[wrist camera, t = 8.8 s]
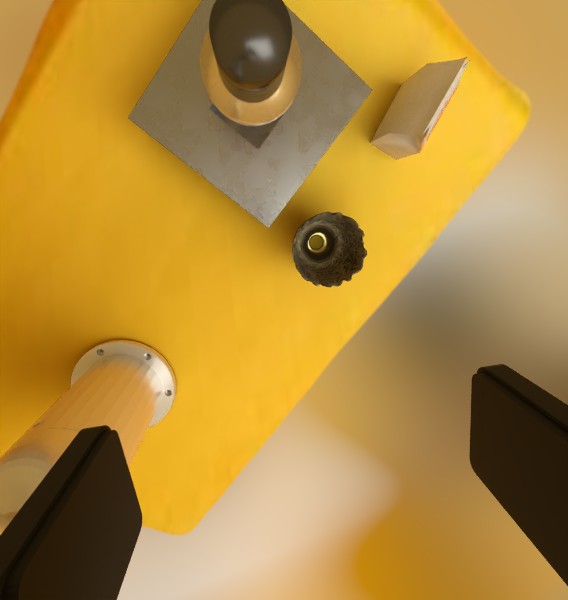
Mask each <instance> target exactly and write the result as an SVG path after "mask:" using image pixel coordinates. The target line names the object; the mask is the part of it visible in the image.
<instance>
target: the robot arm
mask: <svg viewBox="0 0 568 600" xmlns="http://www.w3.org/2000/svg"><path fill="white" fill-rule="evenodd" d="M102 350H103V351H102ZM148 354H150V355H148ZM70 384H71V387H70V388H69V389H68V390H67V391H66V392H65V393H64V394H63V395H62V396H61V397H60V398H59V399H58V400H57V401H56V402H55V403H54V404H53V405H52V406H51V407H50V408H49V409H48V410H47V411H46V412H45V413H44V414H43V415H42V416H41V417H40V418H39V419H38V420H37V421H36V422H35V423H34V424H33V425H32V426H31V427H30V428H29V429H28V430H27V431H26V432H25V433H24V434H23V435H22V436H21V437H20V439H19V440H18V441H17V442H15V443H14V444H13V445H12V446H11V447H10V448H9V449H8V451H7V452H6V453H5V454H4V455H3V456H2V457H1V458H0V600H117V597H118V594H119V591H120V588H121V585H122V582H123V579H124V576H125V574H126V571H127V568H128V565H129V562H130V559H131V556H132V553H133V551H134V548H135V545H136V542H137V539H138V536H139V533H140V530H141V526H142V513H141V509H140V505H139V502H138V499H137V495H136V492H135V488H134V485H133V482H132V478H131V475H130V472H129V467H130V465H131V463H132V461H133V459H134V457H135V455H136V452H137V450H138V448H139V446H140V444H141V442H142V440H143V437H144V435H145V433H146V431H147V429H148V428H150V427H152V426H154V425H155V424H157V423H158V422H160V421H161V420H162V419H163V418H164V417H165V416H166V415H167V413H168V412H169V410H170V408H171V407H172V404H173V402H174V399H175V395H176V380H175V375H174V373H173V371H172V368H171V367H170V365H169V364H168V362H167V361H166V359H165V358H164V357H163V356H162V355H161V354H159V353H158V352H157V351H155V350H154V349H152V348H151V347H149V346H147V345H144V344H142V343H139V342H135V341H130V340H112V341H108V342H104V343H101V344H99V345H97V346H95V347H93V348H92V349H90V350H89V351H88V352H86V353H85V354H84V355H83V356H82V357H81V358H80V359H79V361H78V362H77V364H76V365H75V367H74V370H73V372H72V375H71V382H70ZM169 390H170V391H169ZM470 463H471V466H472V468H473V470H474V472H475V473H476V475H477V476H478V477H479V478H480V479H481V481H482V482H483V483H484V484H485V485H486V487H487V488H488V489H489V490H490V492H491V493H492V494H493V495H494V497H495V498H496V499H497V500H498V501H499V503H500V504H501V505H502V506H503V508H504V509H505V510H506V511H507V512H508V514H509V515H510V516H511V517H512V518H513V520H514V521H515V522H516V523H517V525H518V526H519V527H520V528H521V529H522V531H523V532H524V533H525V534H526V536H527V537H528V538H529V539H530V540H531V542H532V543H533V544H534V545H535V547H536V548H537V549H538V550H539V551H540V553H541V554H542V555H543V556H544V557H545V559H546V560H547V561H548V562H549V564H550V565H551V566H552V567H553V569H554V570H555V571H556V572H557V573H558V575H559V576H560V577H561V578H562V579H563V581H564V582H565V583H566V584H567V586H568V405H567V404H565V403H563V402H562V401H560V400H559V399H557V398H556V397H554V396H553V395H551V394H550V393H548V392H546V391H545V390H543V389H542V388H540V387H539V386H537V385H536V384H534V383H532V382H531V381H529V380H528V379H526V378H524V377H523V376H521V375H520V374H519V373H517V372H515V371H514V370H512V369H511V368H509V367H508V366H506V365H503V364H499V365H493V366H486V367H481V368H479V369H478V371H477V374H474V375H473V377H472V395H471V429H470Z"/></svg>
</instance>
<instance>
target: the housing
mask: <svg viewBox="0 0 568 600" xmlns="http://www.w3.org/2000/svg"><path fill="white" fill-rule="evenodd" d="M215 1H216V0H202V1H201V3H200V5H199V6H198V8H197V9H196V11H195V13H194V14H193V16H192V17H191V19H190V20H189V22H188V24H187V25H186V27H185V28H184V30H183V31H182V33H181V35H180V36H179V38H178V39H177V41H176V43H175V44H174V46H173V47H172V49H171V50H170V52H169V54H168V55H167V57H166V58H165V60H164V62H163V63H162V65H161V66H160V68H159V69H158V71H157V73H156V74H155V76H154V77H153V79H152V80H151V82H150V84H149V85H148V87H147V88H146V90H145V92H144V93H143V95H142V96H141V98H140V99H139V101H138V103H137V104H136V106H135V107H134V109H133V111H132V112H131V114H130V115H129V117H128V118H129V119H130V120H131V121H132V122H134V123H135V124H136V125H138V126H139V127H140V128H141V129H143V130H144V131H145V132H146V133H148V134H149V135H150V136H152V137H153V138H154V139H155V140H157V141H158V142H159V143H161V144H162V145H163V146H164V147H166V148H167V149H168V150H169V151H171V152H172V153H173V154H175V155H176V156H177V157H178V158H180V159H181V160H182V161H184V162H185V163H186V164H187V165H189V166H190V167H191V168H192V169H194V170H195V171H196V172H198V173H199V174H200V175H201V176H203V177H204V178H205V179H207V180H208V181H209V182H210V183H212V184H213V185H214V186H215V187H217V188H218V189H219V190H221V191H222V192H223V193H224V194H226V195H227V196H228V197H230V198H231V199H232V200H233V201H235V202H236V203H237V204H238V205H240V206H241V207H242V208H244V209H245V210H246V211H247V212H249V213H250V214H251V215H253V216H254V217H255V218H256V219H258V220H259V221H260V222H261V223H263V224H264V225H265V226H267V227H268V228H269V227H270V225H271V224H272V223H273V221H274V220H275V219H276V217H277V216H278V215H279V213H280V212H281V211H282V210H283V208H284V207H285V206H286V204H287V203H288V202H289V200H290V199H291V198H292V196H293V195H294V194H295V192H296V191H297V190H298V188H299V187H300V186H301V184H302V183H303V182H304V180H305V179H306V178H307V176H308V175H309V174H310V172H311V171H312V170H313V168H314V167H315V166H316V164H317V163H318V162H319V160H320V159H321V158H322V156H323V155H324V154H325V152H326V151H327V150H328V148H329V147H330V146H331V144H332V143H333V142H334V140H335V139H336V138H337V136H338V135H339V134H340V132H341V131H342V130H343V128H344V127H345V126H346V124H347V123H348V122H349V120H350V119H351V118H352V116H353V115H354V114H355V113H356V111H357V110H358V109H359V107H360V106H361V105H362V103H363V102H364V101H365V99H366V98H367V97H368V95H369V94H370V93H371V91H372V89H371V88H370V87H369V86H368V85H367V84H366V83H365V82H364V81H363V80H362V79H361V78H360V77H359V76H358V75H357V74H355V73H354V72H353V71H352V70H351V69H350V68H349V67H348V66H347V65H346V64H345V63H344V62H343V61H342V60H341V59H340V58H339V57H338V56H337V55H336V54H335V53H334V52H333V51H332V50H331V49H330V48H329V47H328V46H327V45H326V44H325V43H324V42H323V41H322V40H321V39H320V38H319V37H318V36H317V35H316V34H315V33H314V32H313V31H312V30H310V29H309V28H308V27H307V26H306V25H305V24H304V23H303V22H302V21H301V20H300V19H299V18H298V17H297V16H296V15H295V14H294V13H293V12H292V11H291V10H290V9H289V8H288V7H287V6H286V5H285V6H286V8H287V10H288V12H289V15H290V19H291V24H292V33H293V35H294V36H295V38H296V40H297V43H298V45H299V49H300V53H301V59H302V76H301V81H300V85H299V88H298V91H297V94H296V96H295V98H294V100H293V102H292V104H291V105H290V107H289V108H288V109H287V111H286V112H285V113H284V114H283V115H282V116H280V117H279V118H278V119H276V120H274V121H272V122H270V123H268V124H265V125H260V126H246V125H243V124H239V123H237V122H234V121H232V120H231V119H229V118H227V117H226V116H225V115H223V114H222V113H221V112H220V111H219V110H218V109H217V108H216V106H215V105H214V104H213V102H212V101H211V99H210V97H209V95H208V93H207V91H206V88H205V86H204V83H203V80H202V76H201V71H200V51H201V46H202V42H203V40H204V37H205V34H206V33H207V31H208V29H209V19H210V14H211V10H212V8H213V5H214V3H215Z"/></svg>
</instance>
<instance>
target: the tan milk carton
mask: <svg viewBox="0 0 568 600" xmlns="http://www.w3.org/2000/svg"><path fill="white" fill-rule="evenodd" d="M466 59H467V57H465V58H463V59H459V60H454V61H447V62H438V63H430V64H426V65H425V66H424V67H423V68H421V69H420V70H419V71H418V72H416V73H415V74H414V75H413V76H411V77H410V78H409V79H408V80H406V81H405V82H404V83H403V84H402V85H401V87H400V88H399V90H398V92H397V94H396V96H395V98H394V99H393V101H392V103H391V105H390V107H389V109H388V111H387V112H386V114H385V116H384V118H383V120H382V122H381V123H380V125H379V127H378V129H377V131H376V133H375V134H374V136H373V138H372V140H371V142H370V143H371V144H372V145H374V146H376V147H377V148H379V149H380V150H382V151H384V152H385V153H387V154H388V155H390V156H392V157H393V158H395V159H396V160H397V159H400V158H403V157H407V156H410V155H413V154H417V153H420V151H421V149H422V148H423V146H424V144H425V142H426V141H427V139H428V137H429V136H430V134H431V132H432V130H433V129H434V127H435V125H436V123H437V122H438V120H439V118H440V116H441V115H442V113H443V111H444V110H445V108H446V106H447V104H448V103H449V101H450V99H451V97H452V96H453V94H454V92H455V90H456V89H457V87H458V85H459V82H460V79H461V76H462V73H463V72H464V70H465V68H466V66H467V65H468V63H469V61H470V60H469V61H468V62H467V63H466V64H465V61H466ZM464 64H465V65H464Z"/></svg>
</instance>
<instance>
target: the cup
mask: <svg viewBox="0 0 568 600" xmlns="http://www.w3.org/2000/svg"><path fill="white" fill-rule="evenodd" d="M313 236H320V237H321V238H322V239H323V245H322V247H321V248H319V249H313V248H312V247H311V246H310V239H311V238H312V237H313ZM362 237H364V232H363V231H362V230H361V229H360V228H359V226H358V224H357V222H356V221H355V220H354V219H352V218H350V217H347V216H344V215H342V213H331V212H324V213H321V214H318V215H316V216H314V217H312V218H310V219H308V220H307V221H305V222H304V223H303V224H302V225H301V226H300V228H299V229H298V230H297V232H296V234H295V237H294V240H293V247H292V254H293V258H294V262H295V266H296V268H297V270H298V271H299V272H300V274H301V276H302V277H303V278H304V279H305V280H306V281H311V282H312V283H313V284H314V285H316V286H319V285H320V284H321V285H322V286H326V287H332V286H340V285H341V284H342V282H343V280H346V281H350V280H351V277H352V275H353V274H355V273H358V272H359V271H360V270H361V269H362V267H363V260H364V258H365V257H366V255H367V250H365V248H364V246H363V244H364V242H363V239H362Z"/></svg>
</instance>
